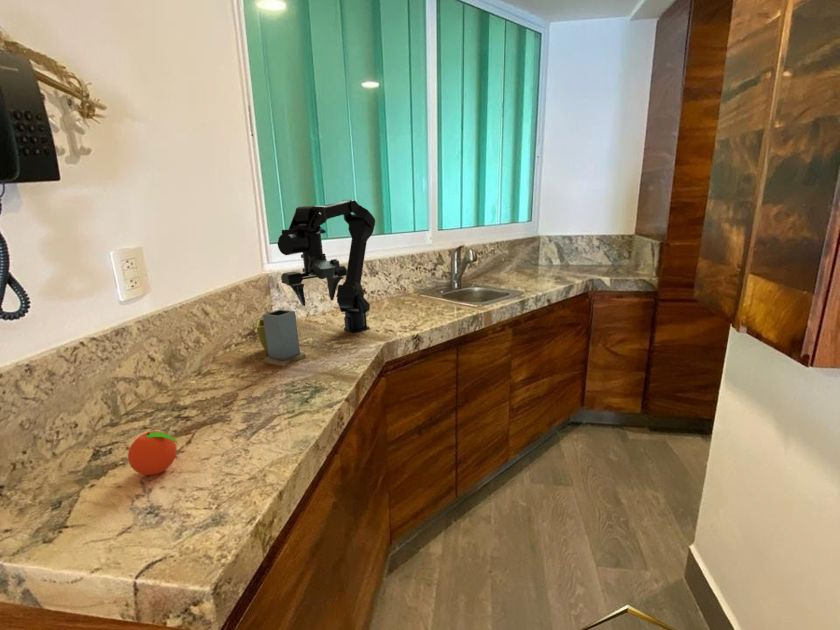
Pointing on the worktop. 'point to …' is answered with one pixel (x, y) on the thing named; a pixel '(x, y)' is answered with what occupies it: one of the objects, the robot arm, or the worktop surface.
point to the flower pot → (262, 334)
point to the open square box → (281, 334)
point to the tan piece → (284, 363)
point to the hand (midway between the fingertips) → (318, 303)
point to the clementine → (152, 453)
